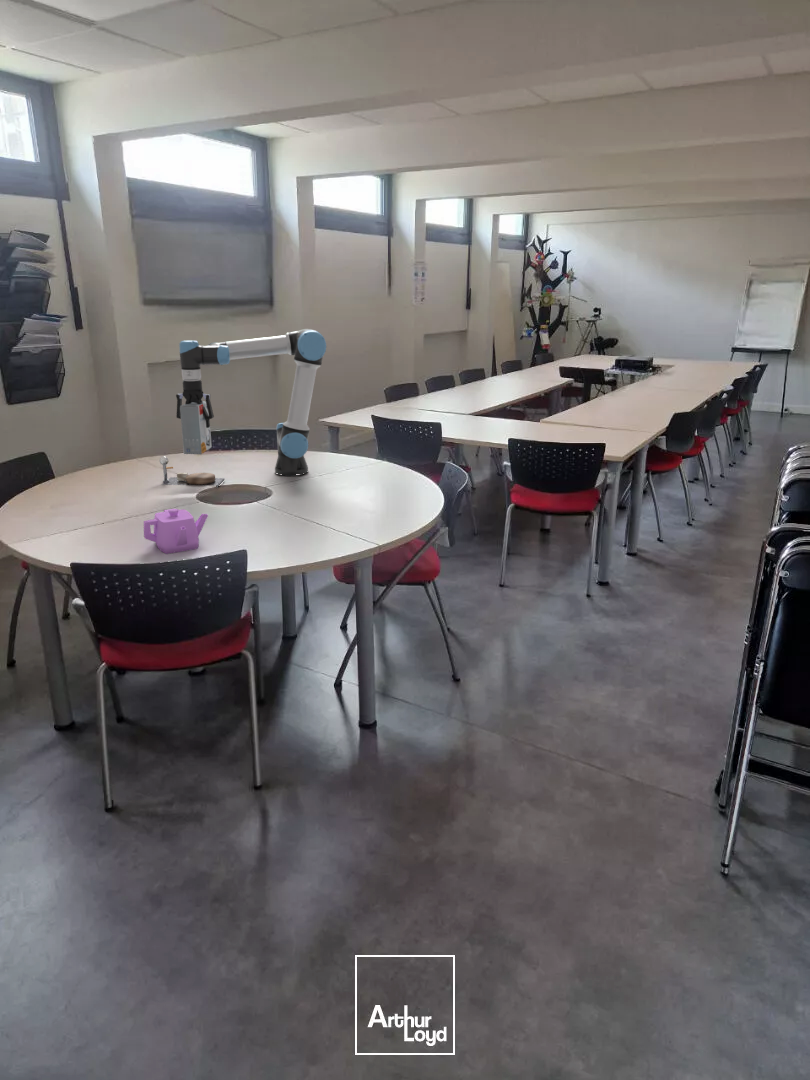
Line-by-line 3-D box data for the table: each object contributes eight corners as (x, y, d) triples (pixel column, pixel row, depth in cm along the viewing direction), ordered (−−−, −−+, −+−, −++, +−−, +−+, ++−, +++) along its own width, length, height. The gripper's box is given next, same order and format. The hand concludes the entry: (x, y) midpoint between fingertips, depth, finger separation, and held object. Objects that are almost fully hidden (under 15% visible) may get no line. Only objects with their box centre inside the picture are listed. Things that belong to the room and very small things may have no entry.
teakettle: (167, 534, 242) (164, 500, 238) (213, 539, 238) (210, 504, 234) (139, 551, 227) (134, 515, 222) (187, 557, 223) (183, 519, 219)
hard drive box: (201, 455, 290) (197, 406, 283) (183, 454, 290) (178, 406, 284) (212, 447, 305) (208, 400, 298) (194, 446, 305) (190, 400, 298)
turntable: (219, 477, 307) (218, 470, 306) (209, 484, 296) (209, 477, 295) (183, 476, 308) (183, 469, 307) (172, 483, 297) (172, 476, 296)
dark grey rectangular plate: (224, 481, 308) (224, 478, 308) (217, 488, 297) (217, 485, 296) (171, 480, 308) (170, 477, 308) (161, 487, 297) (161, 484, 297)
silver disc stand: (161, 482, 299) (159, 457, 296) (161, 481, 301) (159, 456, 298) (174, 481, 301) (171, 456, 297) (174, 480, 303) (171, 455, 299)
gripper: (164, 380, 284) (169, 436, 292) (214, 381, 284) (218, 437, 292) (170, 378, 291) (175, 433, 299) (219, 379, 291) (223, 433, 299)
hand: (196, 435), depth 295 cm, fingers closed on hard drive box, 7 cm apart
